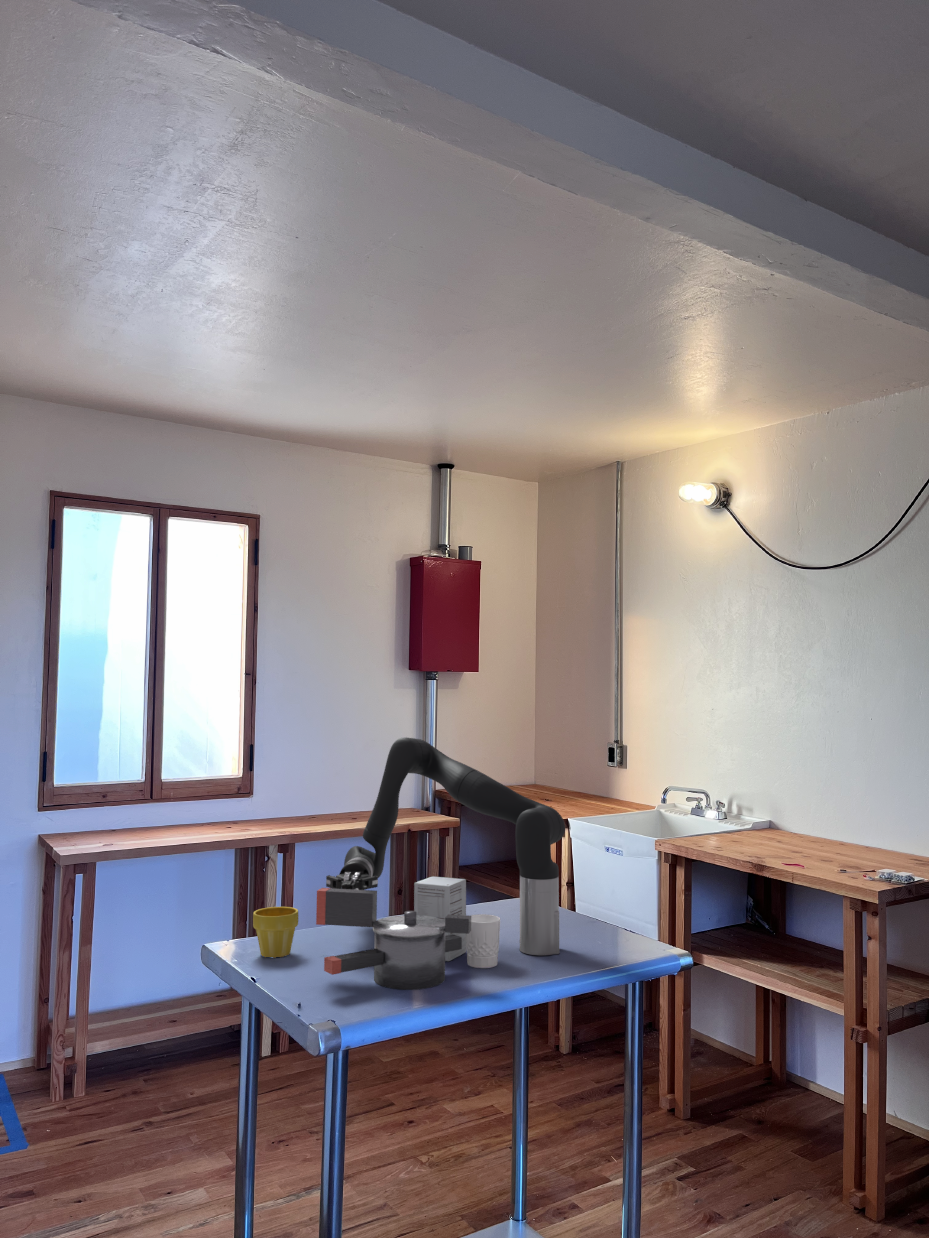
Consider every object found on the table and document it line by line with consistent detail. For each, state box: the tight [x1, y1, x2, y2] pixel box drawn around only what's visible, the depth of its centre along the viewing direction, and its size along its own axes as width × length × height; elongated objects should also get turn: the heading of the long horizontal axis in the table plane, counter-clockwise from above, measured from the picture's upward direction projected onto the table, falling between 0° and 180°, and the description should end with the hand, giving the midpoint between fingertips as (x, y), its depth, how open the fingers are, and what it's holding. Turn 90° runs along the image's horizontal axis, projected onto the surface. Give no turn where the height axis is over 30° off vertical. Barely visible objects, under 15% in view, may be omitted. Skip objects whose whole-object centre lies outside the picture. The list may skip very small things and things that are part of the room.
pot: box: [323, 932, 462, 991], centre depth 191 cm, size 27×23×10 cm
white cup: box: [466, 913, 501, 969], centre depth 205 cm, size 8×8×10 cm
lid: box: [315, 887, 471, 938], centre depth 195 cm, size 33×16×7 cm, turn 79°
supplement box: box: [413, 876, 467, 962], centre depth 212 cm, size 10×9×17 cm
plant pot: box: [252, 906, 299, 959], centre depth 211 cm, size 10×10×10 cm
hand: (347, 888), depth 209 cm, fingers closed
